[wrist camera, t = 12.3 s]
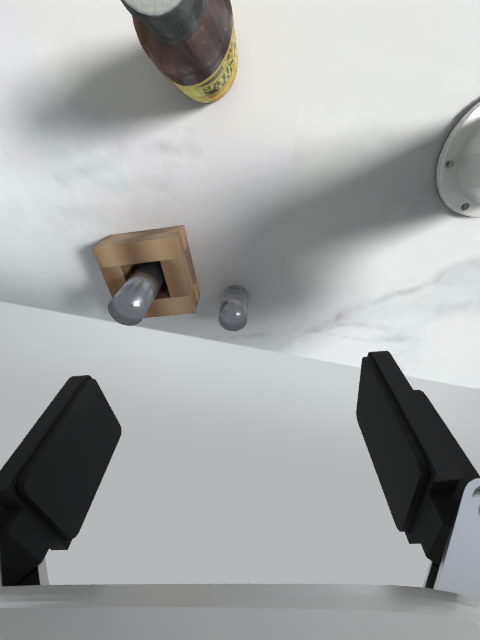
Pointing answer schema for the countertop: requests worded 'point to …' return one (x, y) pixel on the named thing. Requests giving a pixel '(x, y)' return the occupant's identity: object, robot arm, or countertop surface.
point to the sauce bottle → (189, 43)
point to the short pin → (233, 309)
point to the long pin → (137, 294)
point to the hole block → (147, 246)
